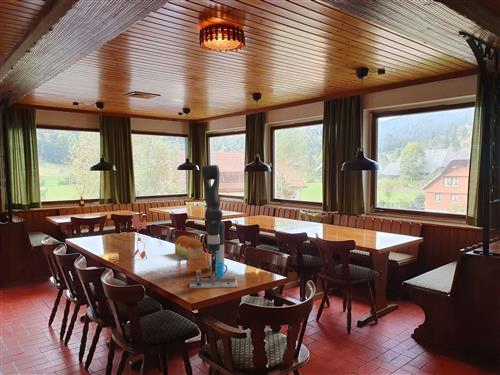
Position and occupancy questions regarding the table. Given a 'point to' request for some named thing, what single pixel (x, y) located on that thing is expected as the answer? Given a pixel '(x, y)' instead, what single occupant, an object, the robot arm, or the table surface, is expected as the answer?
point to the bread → (188, 247)
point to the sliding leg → (213, 274)
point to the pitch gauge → (209, 282)
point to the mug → (220, 269)
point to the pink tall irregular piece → (136, 225)
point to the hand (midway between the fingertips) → (213, 270)
